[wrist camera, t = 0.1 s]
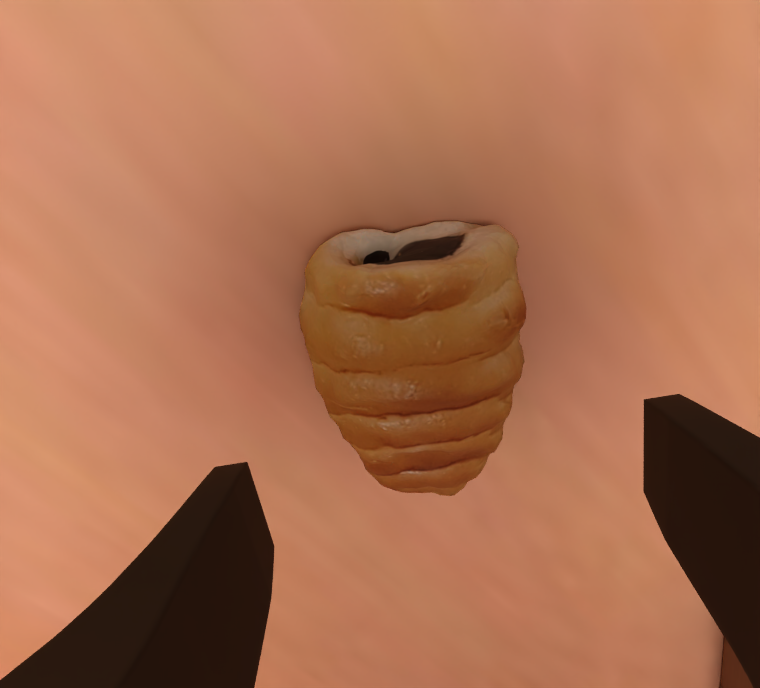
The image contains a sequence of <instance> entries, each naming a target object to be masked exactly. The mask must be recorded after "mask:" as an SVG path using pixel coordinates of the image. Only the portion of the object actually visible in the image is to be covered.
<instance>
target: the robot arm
mask: <svg viewBox="0 0 760 688" xmlns="http://www.w3.org/2000/svg"><path fill="white" fill-rule="evenodd" d="M644 493H645V495H646V498H647V500H648V502H649V505H650V507H651V509H652V512H653V514H654V516H655V519H656V521H657V523H658V525H659V527H660V530H661V532H662V534H663V536H664V538H665V540H666V542H667V544H668V545H669V547H670V549H671V550H672V552H673V554H674V555H675V557H676V559H677V560H678V562H679V564H680V565H681V567H682V569H683V570H684V572H685V574H686V575H687V577H688V579H689V580H690V582H691V583H692V585H693V587H694V588H695V590H696V591H697V593H698V595H699V596H700V598H701V600H702V601H703V603H704V604H705V606H706V608H707V609H708V611H709V612H710V614H711V616H712V617H713V619H714V621H715V622H716V624H717V625H718V627H719V629H720V630H721V632H722V634H723V635H724V637H725V638H726V640H727V642H728V643H729V645H730V646H731V648H732V650H733V651H734V653H735V655H736V657H737V658H738V660H739V662H740V664H741V666H742V667H743V669H744V671H745V673H746V674H747V676H748V678H749V680H750V682H751V684H752V686H753V688H760V438H759V437H758V436H756V435H754V434H752V433H750V432H748V431H747V430H745V429H743V428H741V427H739V426H737V425H736V424H734V423H732V422H730V421H728V420H727V419H725V418H723V417H721V416H719V415H718V414H716V413H714V412H712V411H710V410H709V409H707V408H705V407H703V406H701V405H699V404H698V403H696V402H694V401H692V400H690V399H688V398H686V397H684V396H682V395H680V394H676V395H669V396H663V397H657V398H650V399H644ZM273 563H274V544H273V541H272V538H271V534H270V531H269V528H268V525H267V522H266V519H265V516H264V513H263V509H262V506H261V503H260V500H259V497H258V494H257V491H256V488H255V485H254V481H253V478H252V475H251V472H250V469H249V466H248V463H247V462H244V463H237V464H231V465H225V466H218V467H215V468H214V469H213V470H212V471H211V472H210V473H209V474H208V475H207V477H206V478H205V479H204V480H203V481H202V482H201V484H200V485H199V486H198V487H197V488H196V490H195V491H194V492H193V493H192V494H191V496H190V497H189V498H188V499H187V500H186V502H185V503H184V504H183V505H182V506H181V508H180V509H179V510H178V511H177V512H176V514H175V515H174V516H173V517H172V518H171V519H170V521H169V522H168V523H167V524H166V525H165V526H164V528H163V529H162V530H161V531H160V532H159V533H158V535H157V536H156V537H155V538H154V539H153V540H152V541H151V543H150V544H149V545H148V546H147V547H146V548H145V549H144V550H143V551H142V552H141V553H140V554H139V555H138V557H137V558H136V559H135V560H134V561H133V562H132V563H131V564H130V565H129V566H128V567H127V568H126V569H125V570H124V571H123V572H122V574H121V575H120V576H119V577H118V578H117V579H116V580H115V581H114V582H113V583H112V584H111V585H110V586H109V587H108V588H107V589H106V590H105V591H104V592H103V593H102V594H101V595H100V596H99V597H98V598H97V599H96V600H95V601H94V602H93V603H92V604H91V605H90V606H89V607H87V608H86V609H85V610H84V611H83V612H82V613H81V614H80V615H79V616H77V617H76V618H75V619H74V620H73V621H72V622H71V623H70V624H69V625H67V626H66V627H65V628H64V629H63V630H62V631H61V632H60V633H58V634H57V635H56V636H55V637H54V638H53V639H51V640H50V641H49V642H48V643H46V644H45V645H44V646H43V647H41V648H40V649H39V650H38V651H36V652H35V653H34V654H33V655H31V656H30V657H29V658H28V659H26V660H25V661H24V662H23V663H21V664H20V665H19V666H18V667H16V668H15V669H14V670H13V671H11V672H10V673H9V674H8V675H6V676H5V677H4V678H2V679H1V680H0V688H254V686H255V681H256V676H257V671H258V665H259V660H260V655H261V650H262V645H263V640H264V634H265V629H266V624H267V618H268V613H269V608H270V602H271V594H272V580H273Z"/></svg>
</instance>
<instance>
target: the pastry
mask: <svg viewBox="0 0 760 688" xmlns="http://www.w3.org/2000/svg"><path fill="white" fill-rule="evenodd" d="M518 248H519V246H518V243H517V241H516V239H515V237H514V236H513V235H512V234H511V233H510V232H509V231H507V230H506V229H504V228H503V227H501V226H500V225H496V224H492V225H487V226H482V225H478V224H470V223H465V222H461V221H443V222H433V223H430V224H427V225H424V226H419V227H412V228H409V229H405V230H402V231H400V232H397V233H388V232H383V231H382V230H376V229H360V230H356V231H349V232H342V233H340V234H338V235H336V236H334V237H332V238H331V239H329V240H327V241H326V242H324V243H323V244H321V245H320V246H319V247H318V249H317V250H316V252H315V253H314V254H313V256H312V257H311V258H310V260H309V262H308V265H307V267H306V269H305V278H306V285H305V291H304V295H303V299H302V303H301V307H300V312H299V318H300V325H301V330H302V332H303V334H304V338H305V345H306V348H307V350H308V353H309V357H310V360H311V362H312V366H313V374H314V381H315V386H316V389H317V391H318V392H319V393H320V394H321V396H322V398H323V400H324V402H325V405H326V408H327V411H328V413H329V415H330V417H331V418H332V419H333V420H334V421H335V422H336V424H337V425H338V426H339V429H340V431H341V434H342V436H343V438H344V439H345V440H346V441H347V442H349V443H350V444H351V445H352V447H353V448H354V449H355V450H356V451H357V452H358V454H359V456H360V458H361V460H362V461H363V463H364V466H365V469H366V470H367V471H368V472H369V473H370V474H371V475H372V476H373V477H374V478H375V479H376V480H377V481H378V482H379V483H380V484H381V485H383V486H384V487H387V488H390V489H393V490H396V491H400V492H406V493H430V492H432V493H436V494H439V495H446V496H452V495H455V494H456V493H458V492H459V491H460V490H461V489H463V488H464V486H465V485H466V484H467V482H468V481H470V480H472V479H474V478H476V477H477V476H478V475H479V474H480V473H481V471H482V469H483V468H484V466H485V464H486V462H487V459H488V456H489V454H491V453H493V452H494V451H495V450H496V449H497V447H498V445H499V443H500V441H501V440H502V435H503V424H504V422H505V419H506V418H507V417H508V415H509V413H510V410H511V407H512V393H513V388H514V385H515V384H516V383H517V382H518V381H519V379H520V377H521V373H522V367H523V363H524V356H523V350H522V346H521V344H520V342H519V340H520V332H519V330H520V329H521V327H522V326H523V324H524V322H525V319H526V304H525V300H524V296H523V291H522V289H521V286H520V284H519V281H518V274H517V266H516V256H517V252H518Z"/></svg>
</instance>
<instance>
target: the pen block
mask: <svg viewBox="0 0 760 688" xmlns="http://www.w3.org/2000/svg"><path fill="white" fill-rule="evenodd" d="M720 688H753V686H752V684H751V682H750V680H749V678H748V676H747V674H746V673H745V671H744V669H743V667H742V666H741V664H740V662H739V660H738V658H737V657H736V655H735V653H734V651H733V650H732V648H731V646H730V645H729V643H728V642H727V640H726V638H725V639H724V650H723V662H722V674H721V684H720Z"/></svg>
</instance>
